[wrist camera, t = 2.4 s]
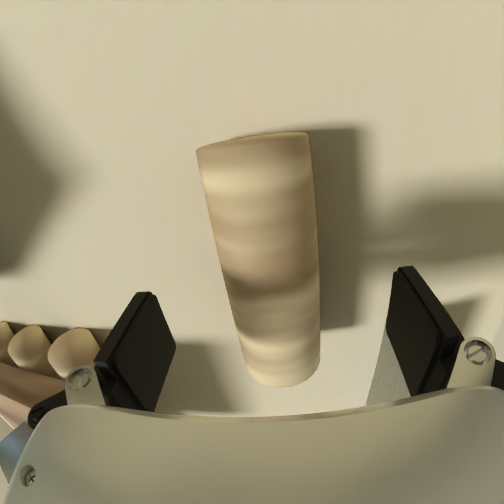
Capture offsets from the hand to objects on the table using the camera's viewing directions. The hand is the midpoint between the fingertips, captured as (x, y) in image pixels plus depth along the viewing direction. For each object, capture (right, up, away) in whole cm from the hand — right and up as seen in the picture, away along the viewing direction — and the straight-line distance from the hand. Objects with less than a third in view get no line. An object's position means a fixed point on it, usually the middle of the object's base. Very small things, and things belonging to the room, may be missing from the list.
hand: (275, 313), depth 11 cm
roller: (0, +2, +3) cm, 4 cm away
